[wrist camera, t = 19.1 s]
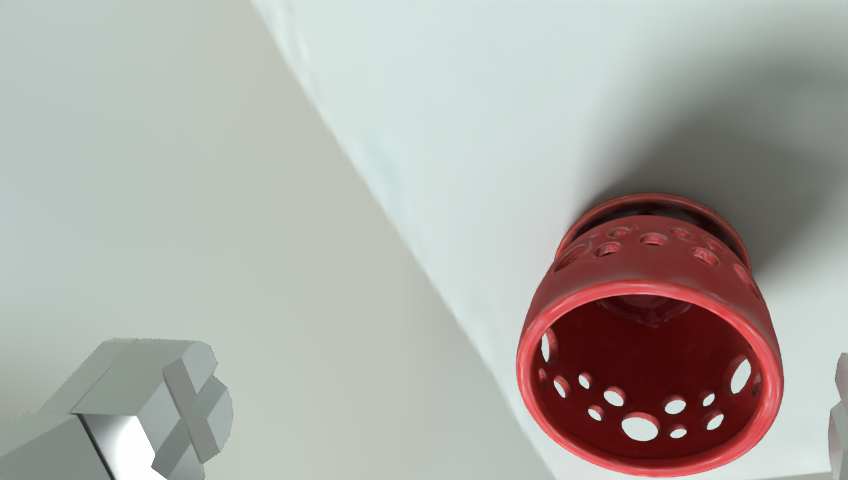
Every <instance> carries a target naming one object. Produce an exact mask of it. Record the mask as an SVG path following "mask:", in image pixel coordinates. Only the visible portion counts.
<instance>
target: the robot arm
mask: <svg viewBox="0 0 848 480" xmlns="http://www.w3.org/2000/svg"><path fill="white" fill-rule="evenodd" d="M217 365H218V362H217V360H216V358H215V356H214V353H213V351H212V349H211V346H210V345H208V344H206V343H204V342H201V341H188V340H165V339H130V338H129V339H128V338H113V339H110V340H107V341H104V342H102V343H101V344H100V345H99V346H98V347H97V349H96V350H95V351H94V352H93V353H92V354H91V355H90V356H89V357H88V358H87V359H86V360H85V361H84V362H83V363H82V365H81V366H80V367H79V368H78V369H77V370H76V371H75V372H74V373H73V374H72V375H71V376H70V377H69V379H67V381H66V382H65V383H64V384H63V385H62V386H61V387H60V388H59V389H58V390H57V391H56V392H55V393H54V394H53V395H52V397H51V398H50V399H49V400H48V401H47V402H46V403H45V404H44V405H43V406H42V407H41V408H40V409H39V410H38V411H37V413H34V412H33V413H32V412H27V413H25V414H23V415H21V416H19V417H18V418H16V419H14V420H12V421H10V422H8V423H6V424H4V425H2V426H0V480H204V478H205V472H204V466H203V463H205V462H206V461H208V460H209V459H211V458H212V457H214V456H215V455H217V454H218V453H220V451H221V450H222V448H223V446H224V444H225V442H226V441H227V439H228V437H229V434H230V430H231V425H232V420H233V408H232V400H231V397H230V394H229V392H228V389H227V387H226V386H225V385H224V384H223V383H221V382H220V381H219V380H218V379H217V378H216V377H215V376H214V375H213V374H214V372H215V369H216V367H217ZM835 382H836V385H837V388H838V391H839V394H840V397H841V401H840V402H839V403H838V404H837V405H835V406H834V407H833V408H832V409H831V410H830V419H829V429H828V442H829V458H830V464H831V469H832V474H833V478H834V480H848V353H841V356H840V358H839V361H838V363H837V369H836V376H835Z"/></svg>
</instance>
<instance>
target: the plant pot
mask: <svg viewBox="0 0 848 480" xmlns="http://www.w3.org/2000/svg"><path fill="white" fill-rule="evenodd" d="M544 333H546V336H547V339H548V343H549V359H548V361H547V362H546V361H545V359H544V357H543V354H542V350H541V347H542V336H543V335H544ZM745 359H747V360H748V361H749V363H750V366H751V374H750V376H749V378H748V380H747V382H746V384H745V386H744V387H743V388H742V389H741V390H740V392H738V393H735V394H733V393H732V391H731V380H732V377H733V375H734V373H735V371H736V370H737V368H738V367H739V365H740V364H741V363H742V362H743V361H744V360H745ZM516 375H517V382H518V386H519V390H520V393H521V396H522V399H523V401H524V403H525V406H526V407H527V409H528V411H529V412H530V414H531V415H532V417H533V418H534V420H535V421H536V422H537V424H538V425H539V426H540V427H541V429H542V430H543V431H544V432H545V433H546V434H547V435H548V436H549V437H550V438H552V439H553V440H554V441H555V442H556V443H558V444H559V445H561V446H562V447H563V448H565V449H566V450H568V451H569V452H571V453H573V454H574V455H576V456H578V457H580V458H582V459H584V460H586V461H588V462H590V463H593V464H595V465H597V466H600V467H603V468H606V469H609V470H612V471H616V472H620V473H624V474H629V475H635V476H648V477H678V476H687V475H692V474H697V473H701V472H706V471H709V470H712V469H715V468H717V467H720V466H723V465H725V464H728V463H730V462H732V461H734V460H736V459H737V458H739V457H741V456H742V455H744V454H745V453H747V452H748V451H749V450H751V449H752V448H753V447H754V446H755V445H756V444H757V443H758V442H759V441H760V440H762V438H763V437H764V435H765V434H766V433H767V431H768V430H769V429H770V427H771V426H772V424H773V422H774V420H775V418H776V416H777V414H778V411H779V408H780V405H781V401H782V397H783V391H784V375H783V366H782V359H781V353H780V348H779V344H778V341H777V337H776V334H775V331H774V328H773V325H772V321H771V318H770V314H769V311H768V308H767V305H766V303H765V300H764V298H763V296H762V294H761V292H760V290H759V288H758V286H757V284H756V282H755V280H754V279H753V277H752V271H751V264H750V259H749V255H748V253H747V250H746V248H745V246H744V243H743V242H742V240H741V238H740V237H739V235H738V233H737V232H736V231H735V230H734V229H733V227H732V226H731V225H730V224H729V223H728V222H727V221H726V220H724V219H723V218H722V217H721V216H720V215H718V214H717V213H716V212H714V211H713V210H711V209H709V208H708V207H706V206H704V205H702V204H700V203H698V202H696V201H693V200H690V199H688V198H684V197H680V196H676V195H670V194H663V193H639V194H631V195H626V196H622V197H618V198H615V199H612V200H609V201H607V202H605V203H602V204H600V205H598V206H597V207H595V208H593V209H591V210H590V211H588V212H587V213H585V214H584V215H583V216H582V217H580V218H579V219H578V220H577V221H576V222H575V223H574V224H573V225H572V226H571V227H570V229H569V230H568V231H567V233H566V234H565V236H564V237H563V239H562V241H561V243H560V245H559V247H558V249H557V252H556V255H555V259H554V262H553V263H552V265H551V266H550V268H549V270H548V271H547V273H546V275H545V277H544V278H543V280H542V281H541V283H540V285H539V286H538V288H537V290H536V292H535V294H534V297H533V299H532V302H531V305H530V308H529V310H528V313H527V315H526V318H525V322H524V325H523V329H522V332H521V336H520V340H519V345H518V349H517V356H516ZM579 375H582V376H583V377H585V378H586V379H587V381H588V383H589V389H586V388H584V387H583V386H582V385H581V384H580V383H579ZM554 380H555V381H556V382H558V383H559V384H560V385H561V387H562V388H563V390H564V392H565V398H563V397H562V396H561V395H560V394H559V392H558V391H557V389H556V388H555V386H554ZM605 391H613V392H616V393H617V394H619V395H620V396H621V397H622V399H623V402H624V403H623V405H622V406H615V405H612V404H610V403H609V402H608V401H607V400H606V399H605V398H604V392H605ZM713 393H714V395H715V399H714V401H713V402H712V403H711V404H710V405H708V406H703V401H704V399H705V398H706V397H708V396H709V395H710V394H713ZM674 400H682V401H684V402H685V403H686V406H685V408H684V409H683V410H682V411H681V412H679V413H677V414H669V413H667V412H666V411H665V407H666V405H667V404H668V403H669V402H671V401H674ZM588 409H593V410H595V411H596V412H597V413H598V414H599V415H600V417H601V421H598V420H595V419H594V418H592V417H591V416H590V415H589V413H588ZM721 414H723V415H724V418H723V420H722V422H721V424H720V425H719V427H717V428H715V429H713V430H707V425H708V423H709V422H710V421H711V420H712V419H713V418H714V417H716V416H718V415H721ZM632 417H638V418H643V419H646V420H648V421H650V422H652V423H653V424H654V425H655V426H656V427H657V429H658V434H657V436H656V437H655V438H654V439H651V440H648V441H638V440H634V439H632V438H630V437H629V436H628V435H627V434H626V433H625V432H624V430H623V429H622V421H623V420H625V419H628V418H632ZM677 429H685V430H686V431H687V433H686V434H685V435H684V436H683V437H680V438H672V437H671V436H670V434H671V433H672V432H673V431H674V430H677Z"/></svg>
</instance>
